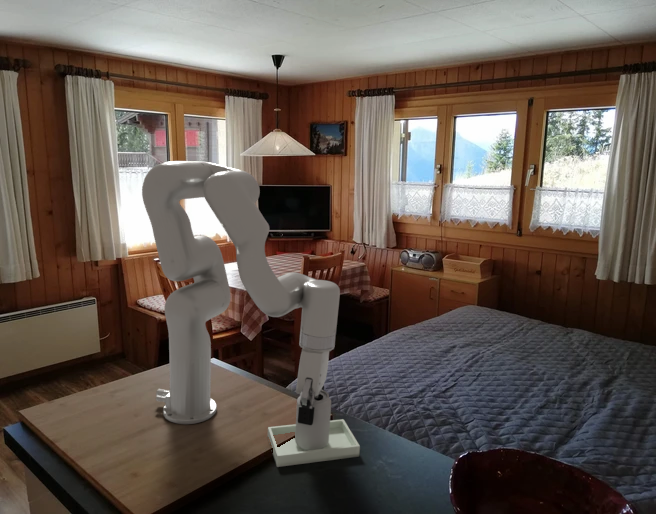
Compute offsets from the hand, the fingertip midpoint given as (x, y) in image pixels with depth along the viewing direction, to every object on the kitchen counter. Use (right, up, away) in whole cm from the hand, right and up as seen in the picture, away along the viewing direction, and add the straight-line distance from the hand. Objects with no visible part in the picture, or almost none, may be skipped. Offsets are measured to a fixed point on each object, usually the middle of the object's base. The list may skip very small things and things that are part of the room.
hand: (310, 412), depth 111 cm
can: (0, -8, +1) cm, 8 cm away
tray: (0, -8, +1) cm, 8 cm away
